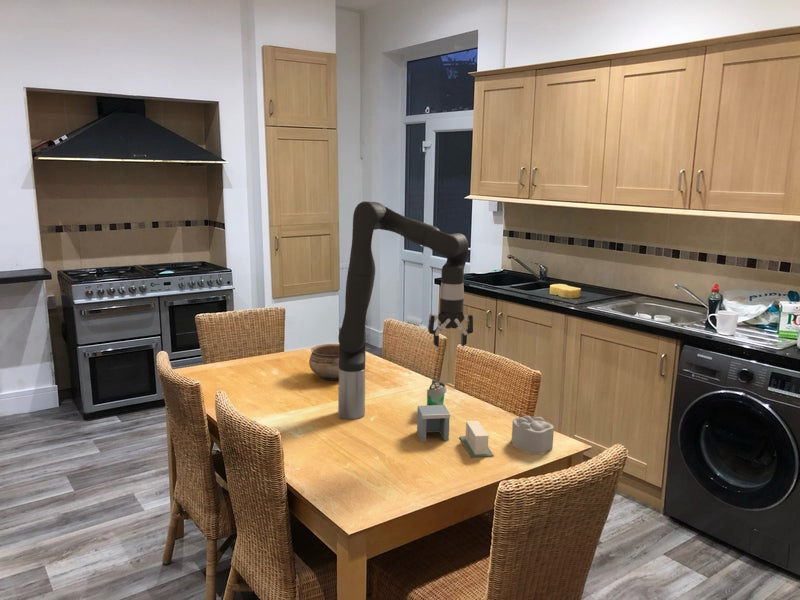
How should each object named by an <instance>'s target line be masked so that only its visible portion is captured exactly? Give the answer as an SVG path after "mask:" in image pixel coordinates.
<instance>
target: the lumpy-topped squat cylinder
mask: <svg viewBox="0 0 800 600" xmlns="http://www.w3.org/2000/svg"><path fill="white" fill-rule="evenodd" d="M511 426H512V427H511V444H512V445H513V447H515V448H516V449H518V450H521V451H523V452H527V453H529V454H532V455H543V454H544V453H546V452H549V451H552V450H553V448H554V447H553V446H554V433H555V432H554V430H555V426H554V425H553V424H551V422H548V421H545V419H544V418H543V417H541V416H536V417H531V416H530V415H524V416H519V417H515V418H513V419H512V425H511Z"/></svg>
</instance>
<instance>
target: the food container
mask: <svg viewBox="0 0 800 600" xmlns="http://www.w3.org/2000/svg"><path fill="white" fill-rule="evenodd" d="M428 388H429V389H426V405H444V402H445V394H446V393H447V386H446V384H445V383H444V382H443V381H440V380H438V379H431V384H430V386H429V387H428Z"/></svg>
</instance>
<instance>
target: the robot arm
mask: <svg viewBox="0 0 800 600" xmlns="http://www.w3.org/2000/svg"><path fill="white" fill-rule="evenodd" d="M375 230H382V231H389V232H393V233H395V234H397V235H399V236H401V237H403V238H405V239H406V240H408V241H410V242H412V243H415V244H417V245H420V246H423V247H425V248H428V249H430V250H432V251H434V252H435V253H436V254H438V255H441V256H442V257H446V262H445V264H444V265H443V266H442V267H441V276H440V277H441V278H440V279H441V280H440V281H441V283H440V289H439V290H440V291H439V312H438V314H433V313H431V314H429V317H428V327H427V332H428V333H429V334H431V335H433V344H434V346H435V347H436V348H439V346H440V336H439V335H440V334H441V332H442V331H444V329H457V328H458V329H459V330H460V331H461V336H460V346H461V347H466V345H467V343H468V335H469V334H473V333H474V316H473V315H472V314H471V313H467V314H464V300H465V299H464V298H465V297H464V296H465V294H464V293H465V287H464V281H465V279H464V278H465V277H464V275H465V274H464V273H465V272H464V271H465V267H466V263H467V258H468V253H469V242H468V239H467V237H466V235H464V234H462V233H458V232H456V233H451V234H450V233H447V232H443V231H441V230H440V228H438V227H437V226H435V225H432V224H428V223H425V222H422V221H420V220H417V219H414V218H410V217H407V216H405V215H402V214H400V213H398V212H396V211H394V210H392V209H391V208H389V207H387V206H385V205H384V204H382V203H379V202H376V201H361V202H359V203H358V204H357V205H356V207H355V209H354V212H353V217H352V233H351V234H352V239H351V249H350V256H349V263H348V268H347V274H346V275H347V276H346V283H345V300H344V301H345V305H344V306H345V307H344V308H345V309H344V316H343V320H342V324H341V327H340V329H339V333H338V344H339V379H338V387H337V388H338V391H337V392H338V393H337V394H338V396H337V397H338V399H337V400H338V402H337V403H338V404H337V405H338V406H337V409H338V411H337V412H338V418H339V419H345V420H356V419H360V418H363V417H364V416H365V415H366V414H365V413H366V408H365V407H366V347H367V346H366V345H367V344H366V339H367V338H366V336H367V335H366V334H367V333H366V320H367V313H368V308H369V305H370V301H371V298H372V293H373V290H374V283H375V276H376V264H375V258H374V255H373V251H372V242H373V241H372V240H373V235H374V231H375ZM437 320H438V321H439V324H438V325H436V328H435V329H434V326H435V323H436V322H437ZM464 320H465V321H466V323H467V328H466V329H465V326H463V324H462V323H463V321H464Z"/></svg>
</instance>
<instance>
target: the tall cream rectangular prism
mask: <svg viewBox="0 0 800 600" xmlns="http://www.w3.org/2000/svg"><path fill="white" fill-rule="evenodd" d="M465 436H466V440H467V442H468V444H469V445H470V447H471V449H472V450H473V452H474V454H475V455H478V454H488V448H489V434H488V433H487V431H486V430H485V429H484V427H483V425H482V424H481V423H480V421H479V420H466V421H465Z"/></svg>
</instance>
